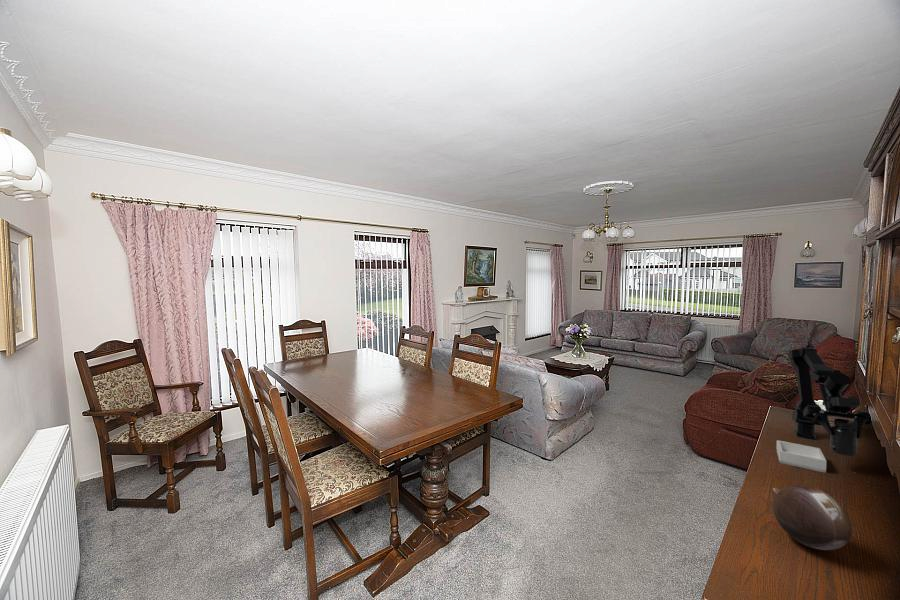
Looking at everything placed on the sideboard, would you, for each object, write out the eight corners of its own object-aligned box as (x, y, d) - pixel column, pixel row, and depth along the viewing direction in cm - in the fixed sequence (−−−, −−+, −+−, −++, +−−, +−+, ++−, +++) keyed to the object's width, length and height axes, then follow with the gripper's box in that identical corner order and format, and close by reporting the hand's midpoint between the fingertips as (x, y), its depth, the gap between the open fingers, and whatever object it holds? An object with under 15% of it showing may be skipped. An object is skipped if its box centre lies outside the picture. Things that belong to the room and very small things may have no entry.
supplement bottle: (845, 448, 137) (846, 417, 136) (862, 457, 130) (864, 424, 130) (824, 447, 138) (825, 416, 138) (840, 456, 132) (841, 423, 131)
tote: (776, 450, 150) (776, 440, 150) (819, 459, 142) (819, 448, 142) (779, 462, 140) (780, 451, 140) (825, 472, 132) (826, 461, 132)
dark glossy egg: (825, 570, 88) (828, 511, 88) (759, 530, 103) (760, 479, 102) (865, 557, 92) (868, 500, 92) (796, 520, 107) (797, 471, 106)
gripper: (807, 384, 141) (818, 422, 132) (875, 390, 132) (892, 431, 123) (798, 398, 148) (808, 435, 139) (862, 405, 140) (877, 444, 131)
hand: (845, 436), depth 133 cm, fingers closed on supplement bottle, 7 cm apart
